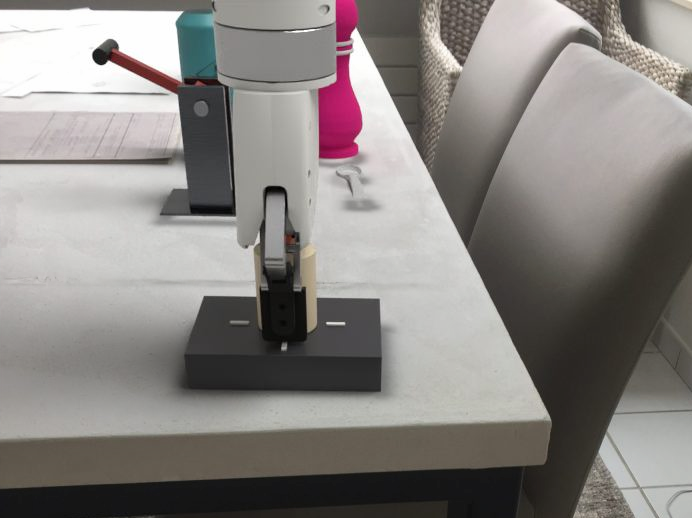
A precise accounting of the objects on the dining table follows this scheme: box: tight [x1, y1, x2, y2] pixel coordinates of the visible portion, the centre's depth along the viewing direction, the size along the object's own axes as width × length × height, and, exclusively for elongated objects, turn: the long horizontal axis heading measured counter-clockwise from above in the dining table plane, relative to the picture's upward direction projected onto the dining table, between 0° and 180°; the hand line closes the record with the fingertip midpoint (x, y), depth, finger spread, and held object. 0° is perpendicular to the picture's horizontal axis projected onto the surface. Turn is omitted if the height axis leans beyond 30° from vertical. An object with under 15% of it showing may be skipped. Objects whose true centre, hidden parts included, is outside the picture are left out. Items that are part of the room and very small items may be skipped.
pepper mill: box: [318, 0, 364, 160], centre depth 105 cm, size 7×7×20 cm
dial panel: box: [183, 295, 383, 393], centre depth 68 cm, size 14×10×3 cm
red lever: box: [91, 38, 205, 96], centre depth 87 cm, size 12×5×2 cm, turn 91°
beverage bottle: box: [174, 7, 233, 121], centre depth 101 cm, size 6×7×20 cm
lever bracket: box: [159, 76, 236, 218], centre depth 91 cm, size 10×8×13 cm
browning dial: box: [253, 235, 318, 333], centre depth 65 cm, size 4×4×6 cm
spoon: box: [336, 163, 368, 199], centre depth 101 cm, size 3×12×2 cm, turn 9°
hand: (288, 318), depth 67 cm, fingers open, 5 cm apart
